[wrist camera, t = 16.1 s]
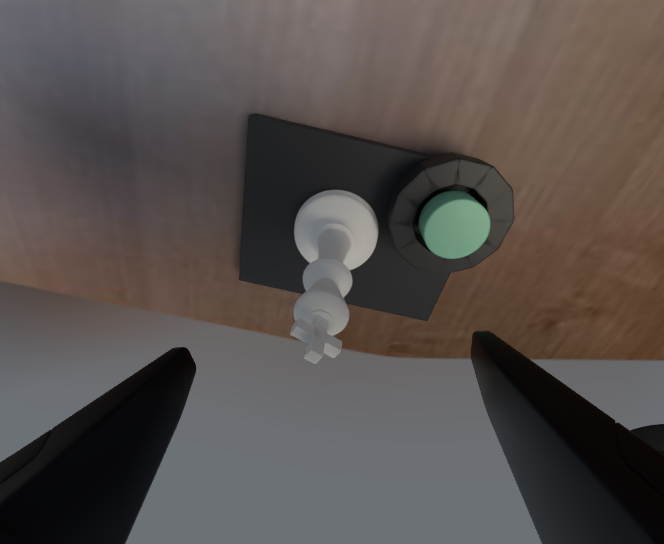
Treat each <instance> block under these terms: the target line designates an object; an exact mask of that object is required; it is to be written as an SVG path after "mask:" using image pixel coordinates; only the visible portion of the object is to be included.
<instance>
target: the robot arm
mask: <svg viewBox="0 0 664 544" xmlns="http://www.w3.org/2000/svg"><path fill="white" fill-rule="evenodd" d="M471 360H472V363H473V367H474V370H475V374H476V377H477V380H478V384H479V387H480V391H481V394H482V397H483V401H484V404H485V407H486V410H487V413H488V416H489V418H490V421H491V423H492V426H493V427H494V430H495V432H496V435H497V437H498V440H499V442H500V444H501V447H502V449H503V452H504V454H505V456H506V459H507V461H508V464H509V466H510V468H511V471H512V473H513V475H514V478H515V480H516V483H517V485H518V487H519V490H520V492H521V495H522V497H523V499H524V502H525V504H526V506H527V509H528V511H529V513H530V516H531V518H532V521H533V523H534V526H535V528H536V530H537V533H538V535H539V537H540V539H541V542H542V544H664V454H663V453H661V452H660V451H658V450H657V449H655V448H654V447H653V446H651V445H650V444H648V443H647V442H645V441H644V440H642V439H641V438H639V437H638V436H637V435H635V434H634V433H632V432H631V431H630V430H628V429H627V428H625V427H624V426H622V425H621V424H620V423H615V420H614V419H612V418H611V417H610V416H608V415H607V414H605V413H604V412H603V411H601V410H600V409H598V408H597V407H596V406H594V405H593V404H591V403H590V402H589V401H587V400H586V399H584V398H583V397H582V396H580V395H579V394H577V393H576V392H575V391H573V390H572V389H570V388H569V387H567V386H566V385H565V384H563V383H562V382H560V381H559V380H558V379H556V378H555V377H553V376H552V375H551V374H549V373H548V372H546V371H545V370H544V369H542V368H541V367H539V366H538V365H536V364H535V363H534V362H532V361H531V360H530V359H528V358H527V357H525V356H524V355H522V354H521V353H520V352H518V351H517V350H515V349H514V348H513V347H511V346H510V345H508V344H507V343H506V342H504V341H503V340H501V339H500V338H499V337H497V336H496V335H494V334H493V333H492V332H490V331H475V332H474V333H473V336H472V345H471ZM195 373H196V364H195V362H194V360H193V358H192V356H191V354H190V352H189V350H188V349H187V348H185V347H178V348H173V349H171V350H169V351H168V352H166V353H165V354H163V355H162V356H160V357H159V358H158V359H156V360H154V361H153V362H151V363H150V364H148V365H147V366H145V367H144V368H142V369H141V370H139V371H138V372H136V373H135V374H133V375H132V376H130V377H129V378H127V379H126V380H124V381H123V382H121V383H120V384H118V385H117V386H115V387H114V388H112V389H111V390H109V391H108V392H106V393H105V394H103V395H102V396H100V397H99V398H97V399H96V400H94V401H93V402H91V403H90V404H88V405H87V406H85V407H84V408H82V409H81V410H79V411H78V412H76V413H75V414H73V415H72V416H70V417H69V418H67V419H66V420H64V421H63V422H61V423H60V424H58V425H57V426H55V427H54V428H53V429H52V430H49V431H48V432H46V433H45V434H43V435H42V436H40V437H39V438H37V439H36V440H34V441H33V442H31V443H30V444H28V445H27V446H25V447H23V448H22V449H21V450H19V451H17V452H16V453H14V454H13V455H11V456H10V457H8V458H6V459H5V460H3V461H2V462H0V544H125V543H126V541H127V538H128V536H129V534H130V532H131V529H132V527H133V525H134V523H135V520H136V518H137V516H138V513H139V511H140V509H141V507H142V504H143V502H144V500H145V498H146V495H147V493H148V491H149V488H150V486H151V484H152V482H153V479H154V477H155V475H156V472H157V470H158V468H159V466H160V463H161V461H162V459H163V457H164V454H165V452H166V450H167V447H168V445H169V443H170V441H171V438H172V436H173V434H174V432H175V429H176V427H177V424H178V422H179V420H180V417H181V415H182V412H183V409H184V406H185V403H186V400H187V397H188V394H189V391H190V388H191V385H192V382H193V379H194V376H195Z"/></svg>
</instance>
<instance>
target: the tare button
mask: <svg viewBox="0 0 664 544" xmlns="http://www.w3.org/2000/svg"><path fill="white" fill-rule="evenodd" d="M419 230H420V233H421V235H422V237H423V239H424V241H425V243H426V246H427V247H428V249H429V250H430V251H431V252H433V253H434V254H435V255H437V256H440V257H443V258H448V259H456V258H461V257H465V256H467V255H469V254H471V253H473V252H474V251H476V250H477V249H478V248H479V247H480V246H481V245H482V244H483V243H484V242H485V240H486V238H487V236H488V234H489V231H490V217H489V214H488V212H487V210H486V209H485V208H484V207H483V206H482V205H481V204H480V203H479V202H478V201H477V200H475V199H474V198H473V197H472V196H470V195H469V194H467V193H465V192H462V191H447V192H443V193H440V194H438V195H436V196H435V197H433V198H432V199H431V200H429V201H428V202H427V203H426V205H425V206H424V207H423V209H422V211H421V213H420V216H419Z"/></svg>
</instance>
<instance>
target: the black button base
mask: <svg viewBox="0 0 664 544" xmlns="http://www.w3.org/2000/svg"><path fill="white" fill-rule="evenodd" d="M328 190H343V191H348V192H351V193H353V194H356V195H357V196H359V197H361V198H362V199H363V200H365V201H366V202H367V203H368V204H369V206H370V207H371V208H372V210H373V211H374V213H375V215H376V218H377V221H378V228H379V233H378V239H377V243H376V246H375V249H374V251H373V253H372V254H371V256H370V257H369V258H368V259H367V260H366V261H365V262H364V263H363V264H362V265H360V266H359V267H357V268H355V269H352V270H350V272H351V275H352V286H351V289H350V291H349V292H348V294H347V295H346V296H345V297H344V300H345V302H346V303H347V304H351V305H356V306H360V307H365V308H370V309H374V310H379V311H383V312H388V313H392V314H397V315H401V316H406V317H411V318H415V319H420V320H424V321H428V319H429V317H430V315H431V313H432V310H433V308H434V306H435V304H436V302H437V300H438V298H439V296H440V294H441V292H442V289H443V287H444V285H445V283H446V281H447V279H448V277H449V275H450V273H451V272H455V271H460V270H464V269H468V268H472V267H474V266H475V265H477V264H478V263H480V262H481V261H482V260H484V259H485V258H486V257H488V256H489V255H491V254H492V253H493V252H495V251H496V250H497V249H498V248H499V247H500V245H501V243H502V241H503V239H504V238H505V236H506V234H507V232H508V230H509V228H510V227H511V225H512V223H513V220H514V203H513V190H512V188H511V186H510V185H509V184H508V183H507V182H506V181H505V179H504V178H503V177H502V176H501V175H500V173H499V172H498V171H497V170H496V169H495V167H494V166H492V165H490V164H488V163H486V162H484V161H482V160H480V159H477V158H473V157H469V156H464V155H460V154H456V153H445V154H442V155H439V156H433V155H429V154H425V153H420V152H416V151H412V150H408V149H404V148H399V147H395V146H391V145H387V144H382V143H378V142H374V141H370V140H366V139H361V138H357V137H353V136H349V135H345V134H340V133H336V132H332V131H328V130H323V129H319V128H315V127H311V126H307V125H302V124H298V123H294V122H290V121H286V120H281V119H277V118H273V117H269V116H264V115H260V114H250V115H249V122H248V139H247V156H246V173H245V190H244V207H243V224H242V241H241V258H240V275H239V280H242V281H246V282H251V283H255V284H260V285H265V286H269V287H274V288H278V289H283V290H287V291H292V292H296V293H301V294H303V293H304V292H306V290H305V288H304V284H303V273H304V270H305V269H306V267H307V266H308V265H309V264H310V263H309V262H308V261H307V260H306V259H305V258H304V257H303V256H302V254H301V253H300V251H299V250H298V248H297V245H296V242H295V238H294V226H295V220H296V216H297V214H298V212H299V210H300V208H301V207H302V205H303V204H304V203H305V202H306V201H307V200H308V199H309V198H311V197H312V196H314V195H316V194H318V193H320V192H323V191H328ZM447 191H462V192H465V193H467V194H469V195H470V196H472V197H473V198H474V199H475V200H477V201H478V202H479V203H480V204H481V205H482V206H483V207H484V208H485V209H486V210H487V212H488V214H489V217H490V231H489V234H488V236H487V238H486V240H485V242H484V243H483V244H482V245H481V246H480V247H479V248H478V249H477V250H476V251H474V252H473V253H471V254H469V255H467V256H465V257H461V258H456V259H448V258H443V257H440V256H437V255H435V254H434V253H433V252H431V251H430V250H429V249H428V247H427V246H426V243H425V241H424V239H423V237H422V235H421V233H420V230H419V216H420V213H421V211H422V209H423V207H424V206H425V205H426V203H427V202H428V201H429V200H431V199H432V198H433V197H435V196H436V195H438V194H440V193H443V192H447Z"/></svg>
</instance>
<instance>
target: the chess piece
mask: <svg viewBox="0 0 664 544" xmlns="http://www.w3.org/2000/svg"><path fill="white" fill-rule="evenodd" d="M378 233H379V228H378V221H377V218H376V215H375V213H374V211H373V210H372V208H371V207H370V206H369V204H368V203H367V202H366V201H365V200H363V199H362V198H361V197H359V196H357V195H356V194H353V193H351V192H348V191H343V190H328V191H323V192H320V193H318V194H316V195H314V196H312V197H311V198H309V199H308V200H307V201H306V202H305V203H304V204H303V205H302V207H301V208H300V210H299V212H298V214H297V216H296V220H295V226H294V238H295V242H296V245H297V248H298V250H299V251H300V253H301V254H302V256H303V257H304V258H305V259H306V260H307V261H308V262H309V263H310V264H309V265H308V266H307V267H306V269H305V270H304V273H303V284H304V288H305V290H306V292H304V293H303V294H302V295H301V296H300V298H299V299H298V300H297V302H296V304H295V306H294V318H295V321H296V322H295V323H294V324H293V325H292V329H291V332H290V335H292V336H293V337H295V338H297V339H299V340H301V341H303V342H304V343H306V349H305V353H304V359H306V360H308V361H309V362H311V363H313V364H317V363H318V361H319V360H320V359H321V358H322V357H323V354H326V355H328V356H330V357H332V358H335V357H336V356H337V355H338V354H339V353H340V352H341V351H342V341H340V340H338V339H337V338H335V337H333V335H335V334H337V333H339V332H341V331H342V330H343V329H344V328H345V327H346V325H347V323H348V320H349V310H348V306H347V304H346V302H345V300H344V297H345V296H346V295H347V294H348V292H349V291H350V289H351V286H352V275H351V272H350V270H352V269H355V268H357V267H359V266H360V265H362V264H363V263H364V262H365V261H366V260H367V259H368V258H369V257H370V256H371V254H372V253H373V251H374V249H375V246H376V243H377V239H378Z"/></svg>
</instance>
